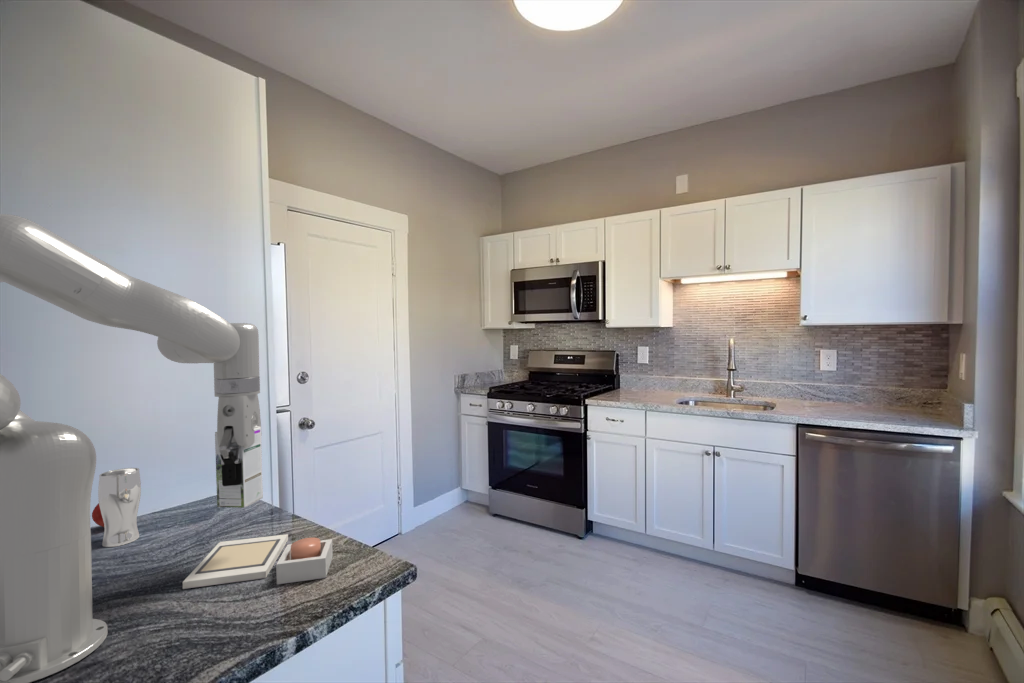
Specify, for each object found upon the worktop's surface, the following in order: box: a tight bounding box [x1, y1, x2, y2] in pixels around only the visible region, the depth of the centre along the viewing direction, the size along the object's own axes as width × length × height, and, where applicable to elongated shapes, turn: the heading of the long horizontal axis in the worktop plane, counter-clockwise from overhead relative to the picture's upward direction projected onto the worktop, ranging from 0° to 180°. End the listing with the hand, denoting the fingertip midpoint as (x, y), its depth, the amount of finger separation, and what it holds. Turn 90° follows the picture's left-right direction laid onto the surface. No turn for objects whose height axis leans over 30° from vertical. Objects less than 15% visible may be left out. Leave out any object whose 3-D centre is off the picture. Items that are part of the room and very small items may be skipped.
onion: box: [91, 502, 104, 528], centre depth 104 cm, size 6×6×8 cm
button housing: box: [275, 538, 334, 585], centre depth 82 cm, size 8×8×4 cm
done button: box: [291, 537, 321, 560], centre depth 82 cm, size 5×5×2 cm
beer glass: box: [97, 467, 142, 548], centre depth 97 cm, size 7×7×15 cm
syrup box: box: [214, 426, 264, 509], centre depth 86 cm, size 6×6×14 cm
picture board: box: [182, 534, 289, 590], centre depth 86 cm, size 16×13×1 cm
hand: (240, 477), depth 86 cm, fingers closed on syrup box, 7 cm apart
